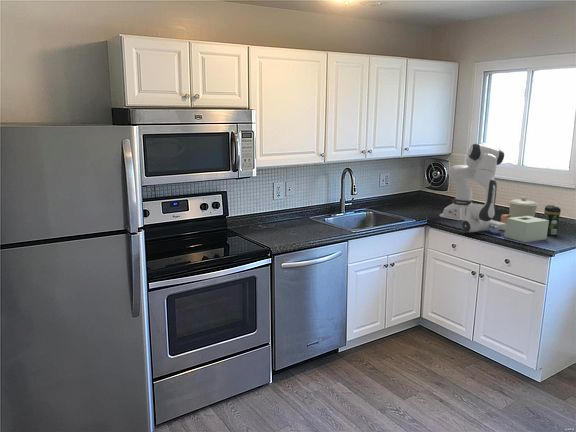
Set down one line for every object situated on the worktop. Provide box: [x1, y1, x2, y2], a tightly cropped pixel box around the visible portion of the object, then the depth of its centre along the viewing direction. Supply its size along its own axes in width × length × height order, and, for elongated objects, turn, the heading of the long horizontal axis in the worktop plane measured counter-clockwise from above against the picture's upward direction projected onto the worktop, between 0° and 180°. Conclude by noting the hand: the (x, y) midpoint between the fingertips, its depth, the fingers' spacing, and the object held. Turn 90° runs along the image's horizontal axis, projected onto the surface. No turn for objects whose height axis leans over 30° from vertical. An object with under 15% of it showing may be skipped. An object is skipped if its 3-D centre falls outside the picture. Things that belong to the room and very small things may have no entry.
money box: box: [503, 216, 549, 243], centre depth 284 cm, size 20×14×12 cm
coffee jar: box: [543, 204, 562, 236], centre depth 296 cm, size 10×8×19 cm
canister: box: [508, 195, 539, 218], centre depth 315 cm, size 18×18×21 cm
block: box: [498, 213, 511, 232], centre depth 306 cm, size 6×3×10 cm, turn 117°
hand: (498, 222), depth 303 cm, fingers open, 8 cm apart
